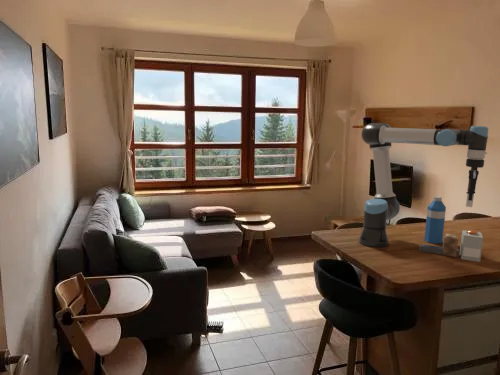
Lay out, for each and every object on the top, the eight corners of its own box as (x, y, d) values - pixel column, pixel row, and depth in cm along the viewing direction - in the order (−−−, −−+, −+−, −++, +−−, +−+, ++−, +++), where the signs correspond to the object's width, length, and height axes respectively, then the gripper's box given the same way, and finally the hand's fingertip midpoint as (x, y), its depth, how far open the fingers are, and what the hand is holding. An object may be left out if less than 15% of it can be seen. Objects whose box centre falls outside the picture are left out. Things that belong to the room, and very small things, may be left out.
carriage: (442, 255, 199) (444, 236, 197) (442, 250, 205) (443, 232, 203) (456, 257, 196) (458, 238, 194) (455, 252, 203) (457, 234, 201)
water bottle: (444, 244, 217) (449, 199, 212) (426, 243, 219) (430, 198, 214) (440, 239, 226) (444, 195, 221) (422, 238, 228) (426, 194, 223)
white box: (461, 259, 194) (464, 235, 192) (459, 253, 203) (462, 230, 201) (480, 262, 191) (483, 237, 188) (477, 255, 200) (480, 232, 198)
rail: (419, 252, 204) (419, 246, 203) (419, 249, 208) (419, 243, 208) (458, 257, 197) (459, 251, 196) (457, 254, 201) (458, 248, 201)
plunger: (466, 243, 195) (467, 231, 194) (465, 241, 199) (467, 229, 198) (476, 245, 193) (478, 233, 192) (475, 242, 197) (477, 230, 196)
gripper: (486, 160, 184) (478, 210, 189) (483, 157, 196) (476, 204, 201) (467, 159, 188) (461, 208, 192) (465, 156, 199) (459, 203, 204)
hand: (468, 206), depth 196 cm, fingers closed
